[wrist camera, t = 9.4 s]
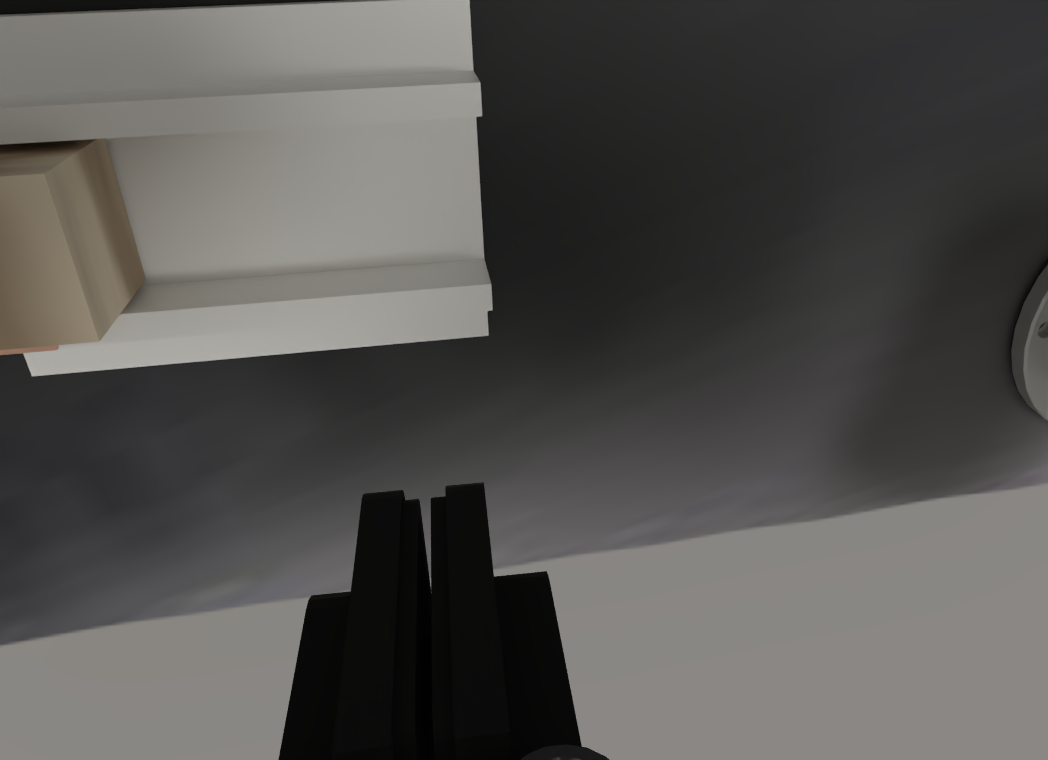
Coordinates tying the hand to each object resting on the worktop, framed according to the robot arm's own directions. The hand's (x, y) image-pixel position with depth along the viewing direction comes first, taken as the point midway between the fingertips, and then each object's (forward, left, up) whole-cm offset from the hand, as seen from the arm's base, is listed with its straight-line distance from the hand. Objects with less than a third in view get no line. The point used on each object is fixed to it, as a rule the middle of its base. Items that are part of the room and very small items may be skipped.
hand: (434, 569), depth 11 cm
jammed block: (+12, 0, -19) cm, 22 cm away
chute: (+6, 0, -20) cm, 21 cm away
